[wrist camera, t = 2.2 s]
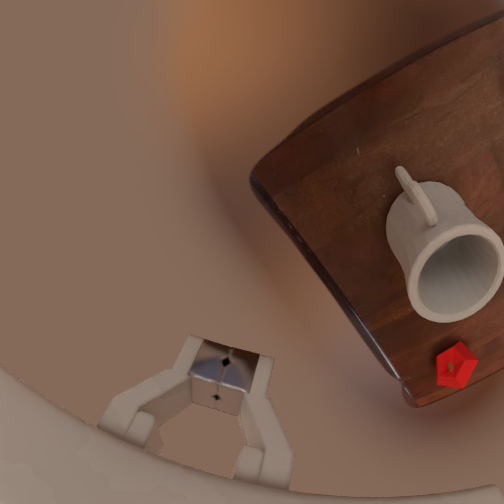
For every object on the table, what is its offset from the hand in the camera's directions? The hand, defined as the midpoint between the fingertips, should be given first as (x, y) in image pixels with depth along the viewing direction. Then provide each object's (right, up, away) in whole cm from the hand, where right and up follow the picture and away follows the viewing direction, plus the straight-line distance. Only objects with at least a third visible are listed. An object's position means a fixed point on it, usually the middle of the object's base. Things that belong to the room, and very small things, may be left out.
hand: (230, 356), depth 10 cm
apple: (+29, -10, +25) cm, 39 cm away
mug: (+17, +8, +16) cm, 25 cm away
